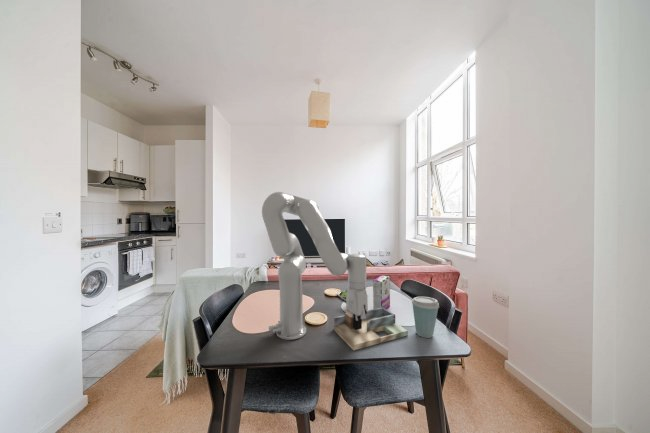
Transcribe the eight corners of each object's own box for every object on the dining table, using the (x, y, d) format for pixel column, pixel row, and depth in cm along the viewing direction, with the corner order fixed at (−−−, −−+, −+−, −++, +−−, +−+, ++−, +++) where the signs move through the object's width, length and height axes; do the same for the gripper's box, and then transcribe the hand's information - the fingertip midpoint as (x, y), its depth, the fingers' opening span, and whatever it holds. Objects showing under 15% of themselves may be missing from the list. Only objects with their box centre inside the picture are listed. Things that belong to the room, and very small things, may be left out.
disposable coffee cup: (405, 330, 101) (406, 296, 101) (424, 325, 105) (424, 292, 105) (425, 343, 91) (425, 305, 91) (445, 337, 96) (445, 301, 95)
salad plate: (376, 301, 135) (376, 293, 135) (348, 306, 128) (348, 298, 128) (359, 290, 153) (359, 283, 153) (334, 294, 146) (334, 287, 146)
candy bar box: (381, 304, 130) (381, 274, 129) (390, 306, 127) (390, 276, 126) (372, 311, 121) (372, 279, 120) (381, 313, 118) (381, 281, 117)
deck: (353, 350, 87) (353, 335, 87) (333, 329, 102) (333, 316, 102) (407, 335, 97) (407, 322, 97) (382, 318, 113) (382, 306, 113)
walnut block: (350, 329, 99) (350, 317, 98) (344, 324, 103) (344, 312, 103) (360, 326, 101) (360, 315, 100) (354, 321, 105) (354, 310, 105)
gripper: (340, 280, 102) (341, 322, 102) (358, 291, 88) (359, 339, 89) (355, 278, 105) (355, 319, 105) (375, 288, 91) (375, 335, 92)
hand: (357, 328), depth 97 cm, fingers closed
